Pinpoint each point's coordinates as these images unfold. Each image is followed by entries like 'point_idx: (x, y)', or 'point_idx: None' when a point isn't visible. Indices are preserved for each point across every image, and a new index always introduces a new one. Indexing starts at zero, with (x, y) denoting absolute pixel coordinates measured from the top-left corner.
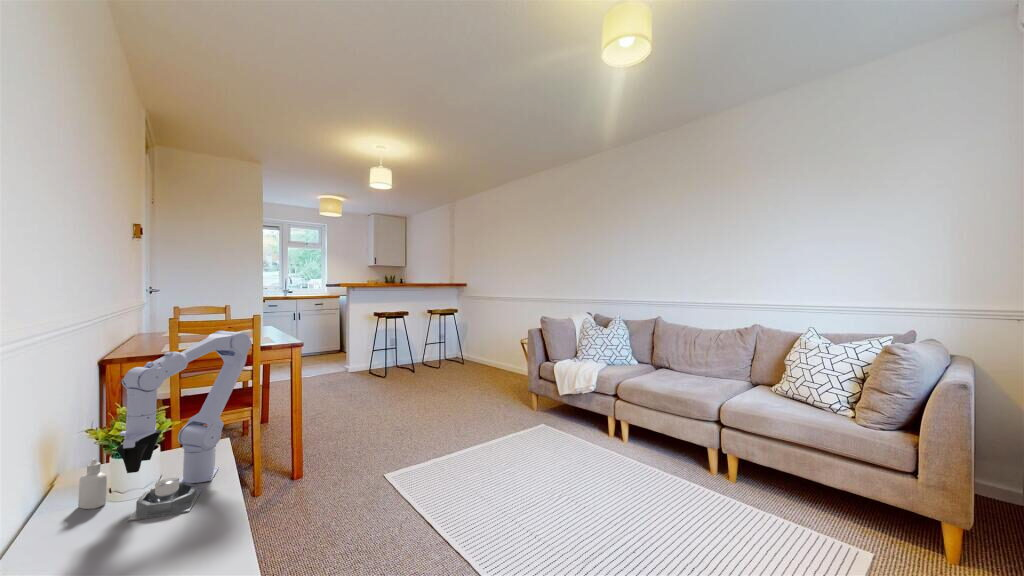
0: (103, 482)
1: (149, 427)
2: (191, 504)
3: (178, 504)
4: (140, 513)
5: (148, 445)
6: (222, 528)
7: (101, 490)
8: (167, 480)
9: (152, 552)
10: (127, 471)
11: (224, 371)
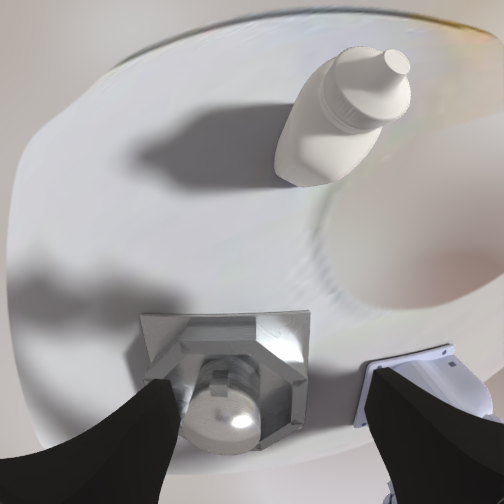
0: (305, 176)
1: None
2: None
3: None
4: (173, 337)
5: (406, 476)
6: None
7: (291, 175)
8: (238, 432)
9: (41, 381)
10: (145, 387)
11: None
